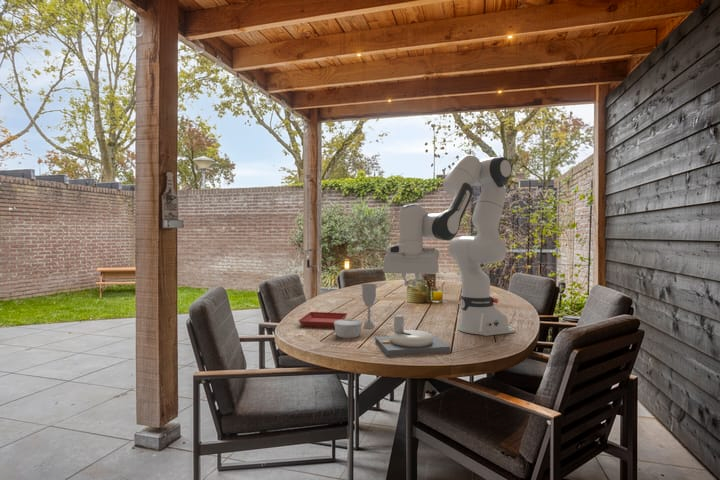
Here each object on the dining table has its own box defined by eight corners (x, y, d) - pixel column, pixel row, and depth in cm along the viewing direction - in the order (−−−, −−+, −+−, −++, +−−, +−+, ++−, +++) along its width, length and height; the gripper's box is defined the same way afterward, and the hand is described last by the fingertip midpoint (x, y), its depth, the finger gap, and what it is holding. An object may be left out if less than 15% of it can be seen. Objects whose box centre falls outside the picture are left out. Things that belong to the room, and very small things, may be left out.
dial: (441, 340, 146) (441, 318, 146) (416, 349, 135) (416, 325, 135) (406, 333, 156) (407, 312, 156) (381, 340, 145) (381, 318, 145)
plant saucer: (339, 329, 172) (339, 321, 172) (297, 327, 175) (297, 320, 175) (347, 320, 190) (347, 313, 190) (310, 318, 193) (310, 311, 193)
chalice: (375, 329, 171) (375, 286, 171) (359, 328, 172) (359, 285, 172) (378, 325, 178) (378, 284, 178) (362, 324, 180) (362, 283, 179)
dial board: (431, 339, 156) (431, 332, 156) (450, 352, 139) (450, 344, 139) (375, 342, 152) (375, 335, 152) (387, 356, 135) (387, 348, 135)
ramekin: (358, 330, 169) (358, 318, 169) (365, 338, 158) (365, 324, 158) (331, 332, 166) (331, 319, 166) (336, 339, 156) (336, 325, 155)
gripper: (437, 247, 153) (437, 284, 153) (382, 247, 154) (382, 284, 154) (440, 248, 147) (440, 287, 147) (383, 248, 147) (382, 286, 148)
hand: (410, 285), depth 151 cm, fingers closed
